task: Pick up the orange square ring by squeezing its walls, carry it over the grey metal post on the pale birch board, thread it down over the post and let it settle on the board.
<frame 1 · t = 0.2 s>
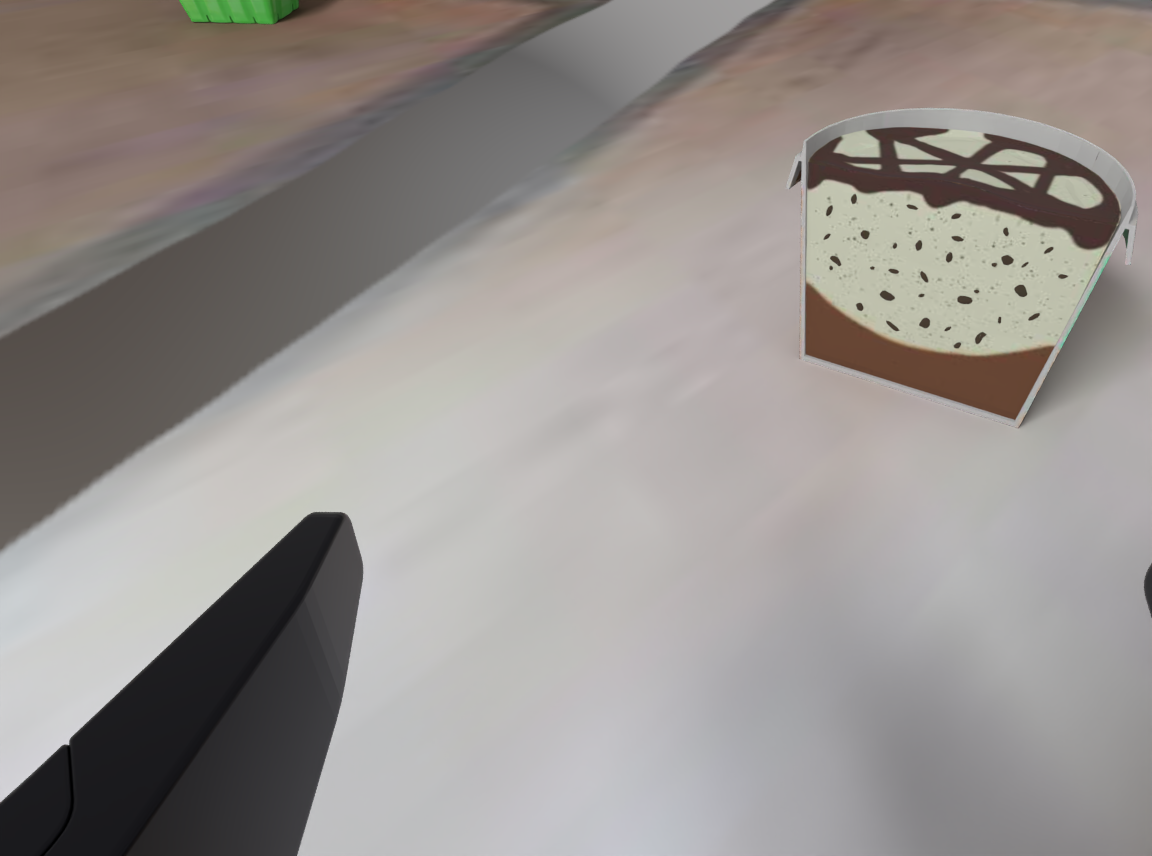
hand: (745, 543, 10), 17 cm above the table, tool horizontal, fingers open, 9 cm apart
fruit basket: (244, 19, 85), on the table
food container: (925, 357, 39), on the table
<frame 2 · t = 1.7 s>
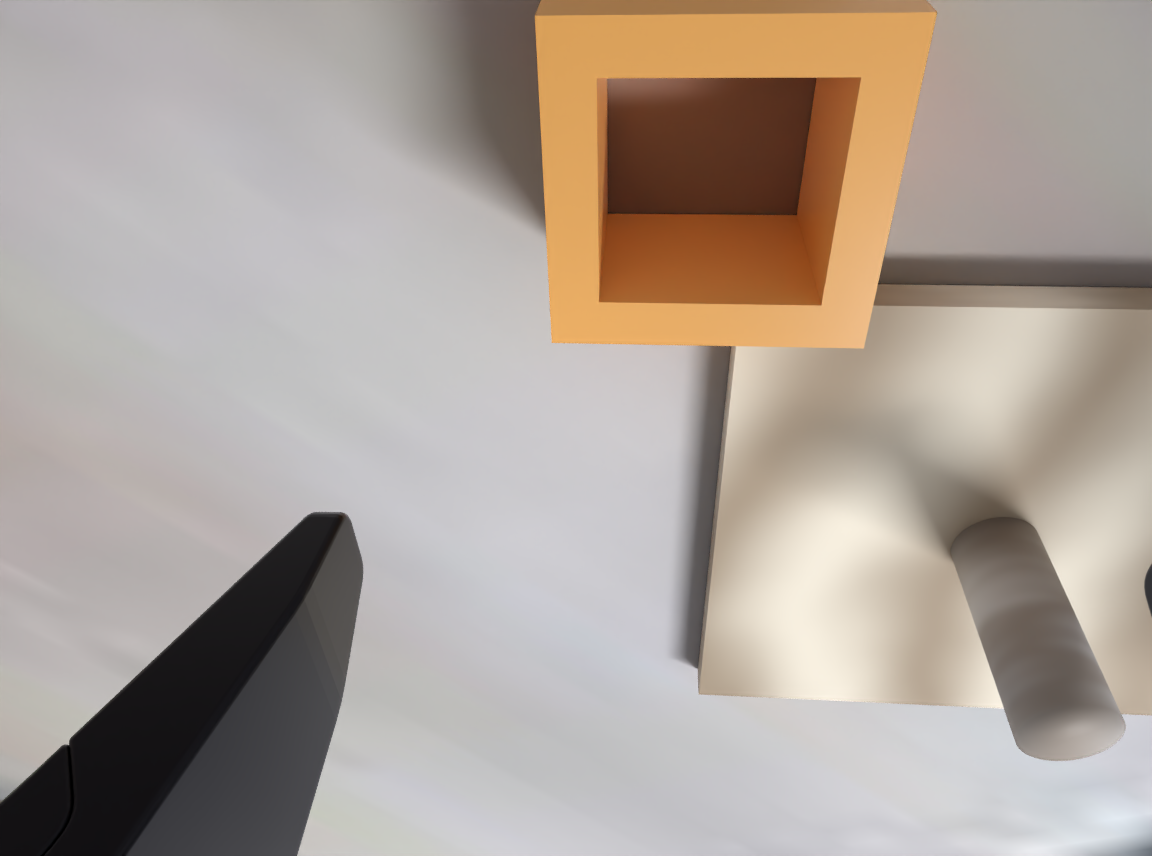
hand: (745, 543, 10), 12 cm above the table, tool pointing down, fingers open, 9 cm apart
orange square ring: (708, 121, 19), on the table
post board: (984, 521, 26), on the table
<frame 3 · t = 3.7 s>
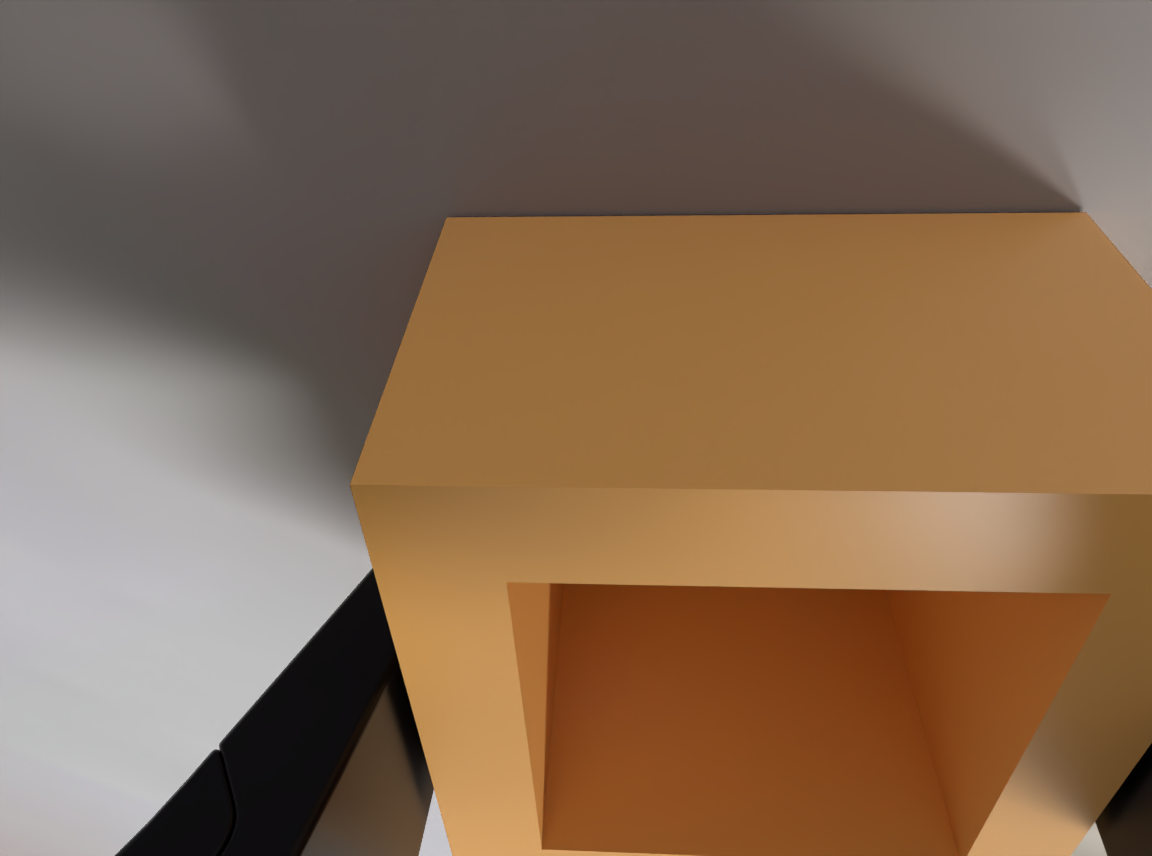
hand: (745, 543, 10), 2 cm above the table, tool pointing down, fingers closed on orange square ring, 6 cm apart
orange square ring: (733, 451, 11), on the table, touching gripper
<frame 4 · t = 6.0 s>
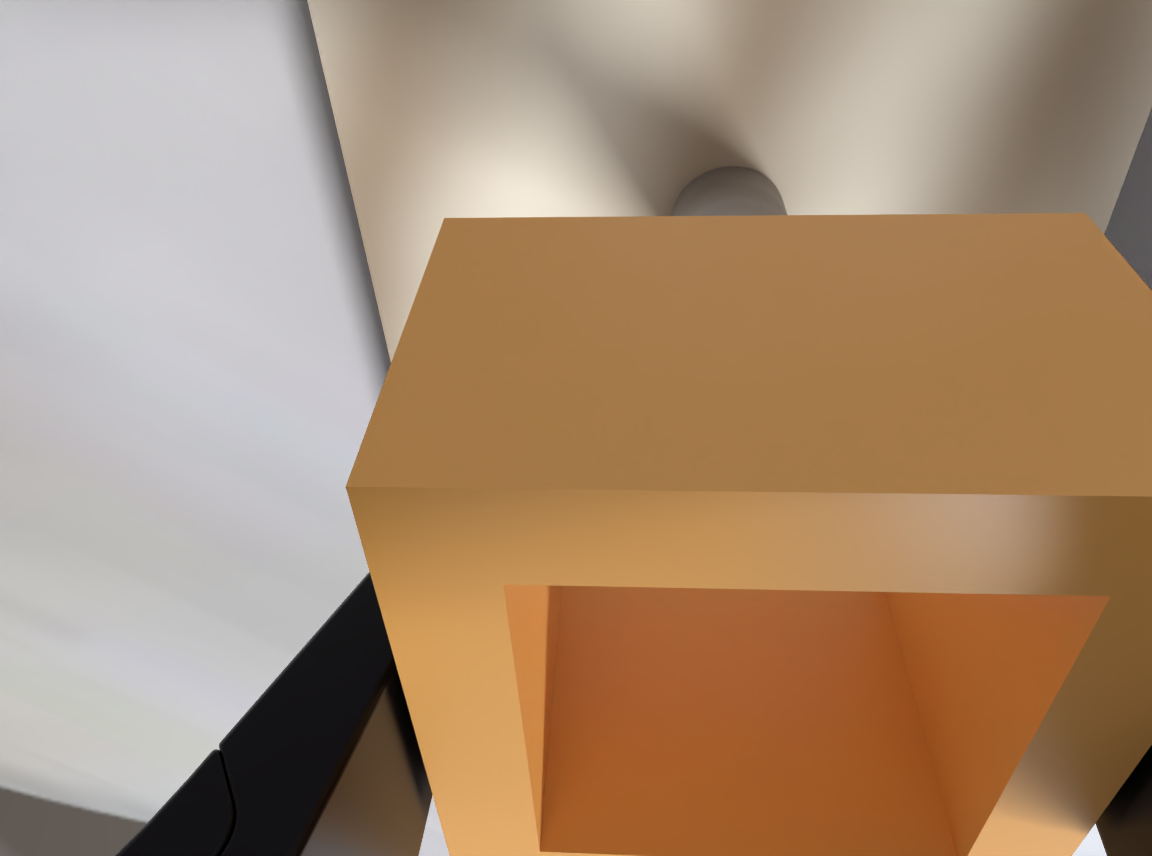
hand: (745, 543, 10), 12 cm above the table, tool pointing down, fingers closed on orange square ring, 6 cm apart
orange square ring: (732, 452, 11), point 10 cm above the table, touching gripper
post board: (723, 198, 20), on the table
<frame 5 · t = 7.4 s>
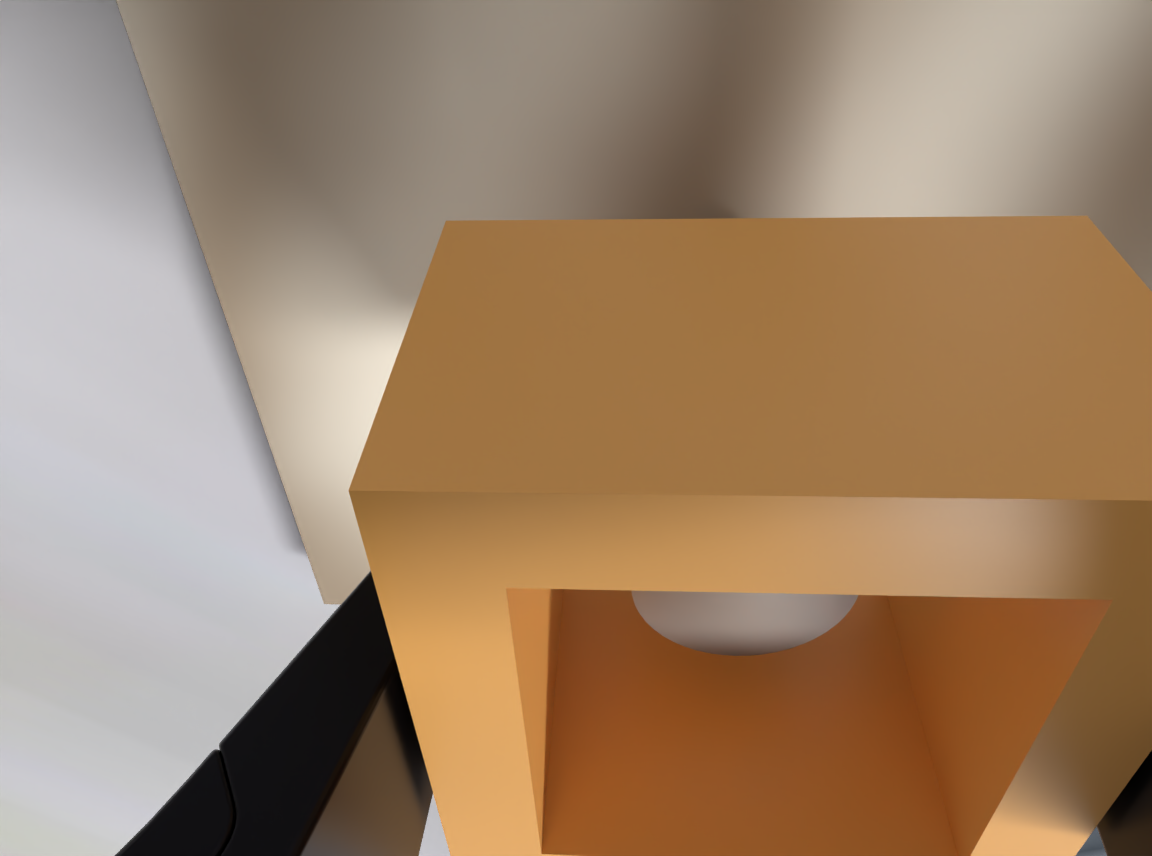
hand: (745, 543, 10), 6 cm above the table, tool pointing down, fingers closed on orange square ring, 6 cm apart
orange square ring: (733, 454, 11), point 5 cm above the table, touching gripper
post board: (705, 259, 15), on the table
when the fingers open (5 cm above the table, at t = 8.6 s): orange square ring drops 2 cm, resting on post board.
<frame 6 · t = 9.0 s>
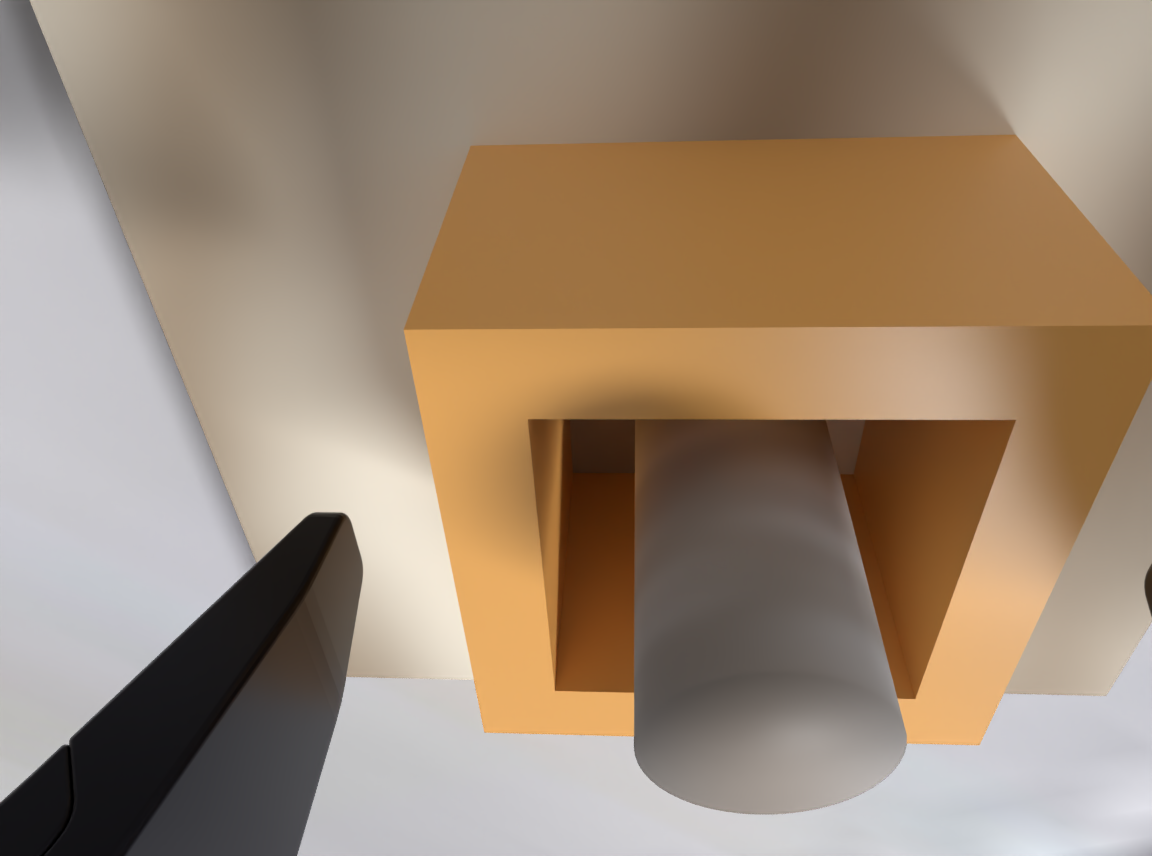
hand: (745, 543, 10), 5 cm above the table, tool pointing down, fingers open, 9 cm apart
orange square ring: (720, 360, 12), point 1 cm above the table, touching post board
post board: (715, 321, 13), on the table
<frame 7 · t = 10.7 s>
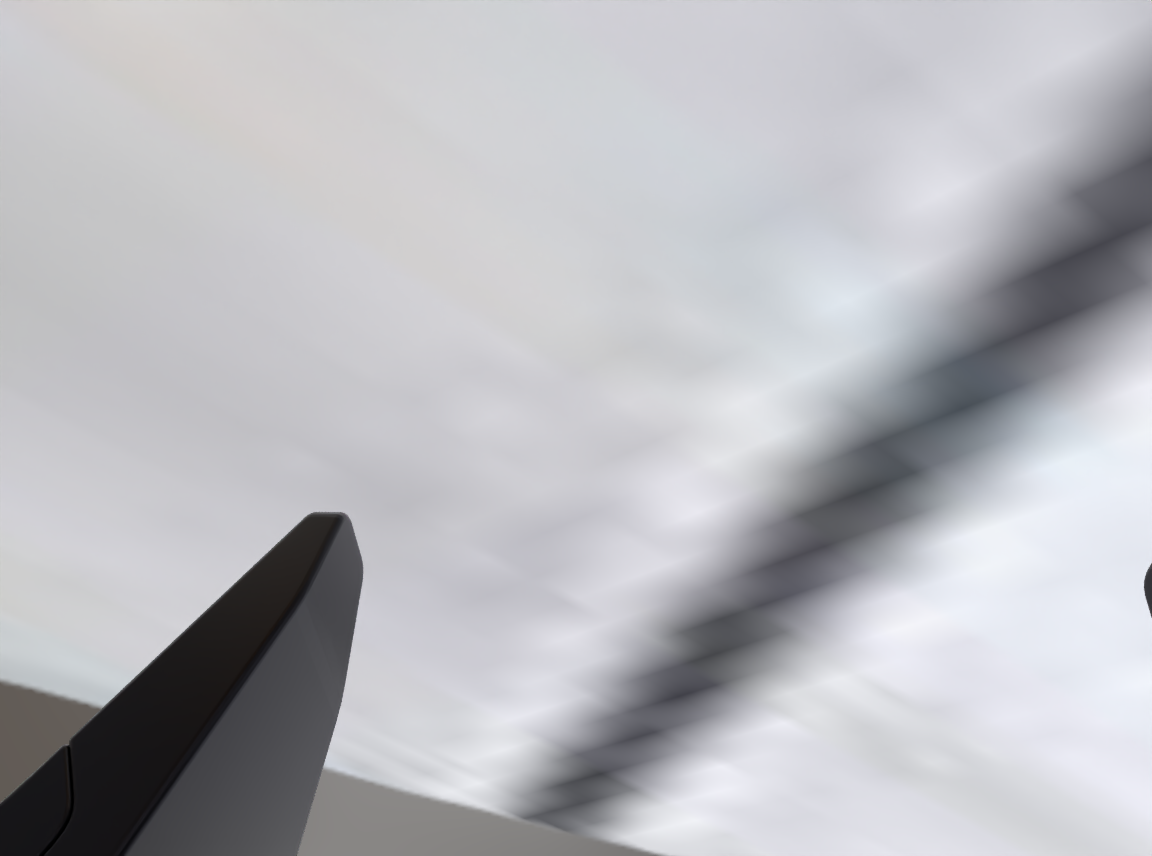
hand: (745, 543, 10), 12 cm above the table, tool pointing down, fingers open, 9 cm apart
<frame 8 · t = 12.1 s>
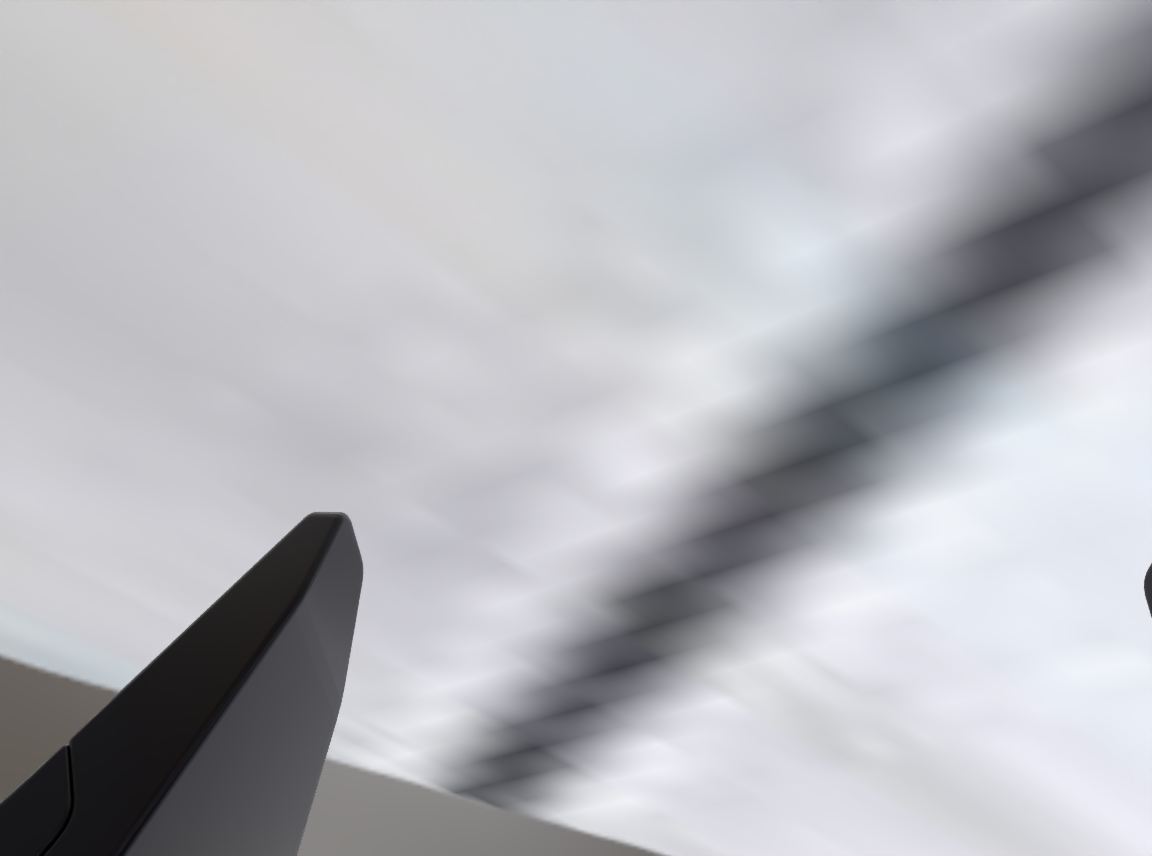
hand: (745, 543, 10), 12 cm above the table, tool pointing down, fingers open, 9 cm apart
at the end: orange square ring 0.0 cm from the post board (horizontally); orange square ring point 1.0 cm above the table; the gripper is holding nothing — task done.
